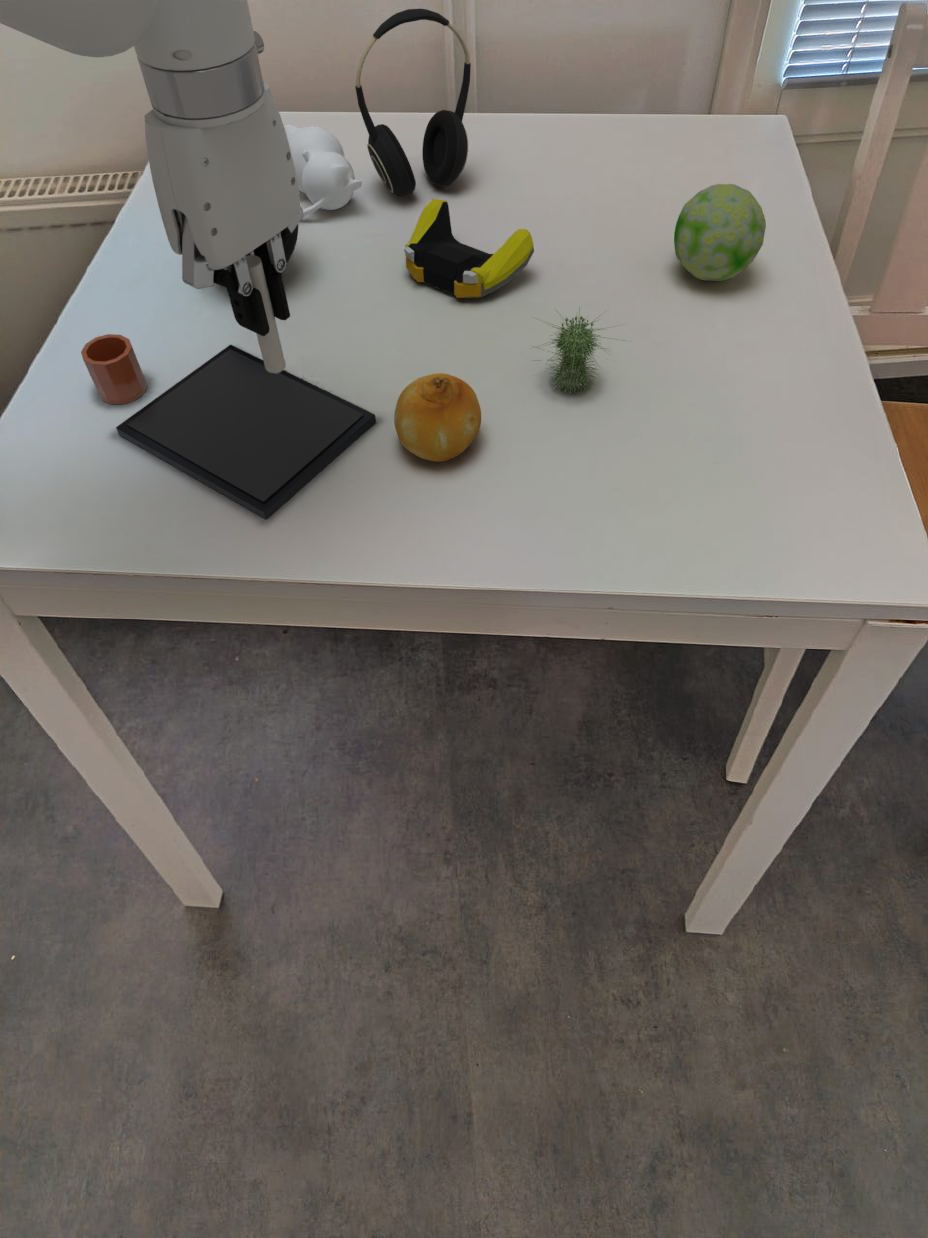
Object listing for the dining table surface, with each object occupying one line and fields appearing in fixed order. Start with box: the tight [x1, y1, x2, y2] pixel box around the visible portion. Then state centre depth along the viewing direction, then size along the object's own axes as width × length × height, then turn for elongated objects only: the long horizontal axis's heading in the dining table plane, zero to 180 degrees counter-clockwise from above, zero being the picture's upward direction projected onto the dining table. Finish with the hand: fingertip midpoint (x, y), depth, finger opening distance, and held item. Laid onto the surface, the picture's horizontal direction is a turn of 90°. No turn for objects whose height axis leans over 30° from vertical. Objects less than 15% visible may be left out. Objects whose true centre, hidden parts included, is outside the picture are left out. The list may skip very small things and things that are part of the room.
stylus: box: [245, 255, 287, 374], centre depth 70 cm, size 2×2×11 cm
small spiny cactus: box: [520, 307, 633, 394], centre depth 84 cm, size 12×12×8 cm
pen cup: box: [80, 333, 148, 405], centre depth 86 cm, size 5×5×5 cm
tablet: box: [115, 344, 377, 520], centre depth 84 cm, size 16×20×1 cm
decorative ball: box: [673, 183, 767, 282], centre depth 95 cm, size 10×10×10 cm
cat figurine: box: [284, 124, 363, 219], centre depth 107 cm, size 9×11×12 cm
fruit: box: [393, 372, 482, 462], centre depth 80 cm, size 8×8×8 cm
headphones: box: [354, 8, 472, 197], centre depth 103 cm, size 9×15×20 cm, turn 115°
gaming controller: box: [403, 198, 535, 299], centre depth 97 cm, size 15×6×10 cm
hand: (264, 319), depth 70 cm, fingers closed on stylus, 1 cm apart
